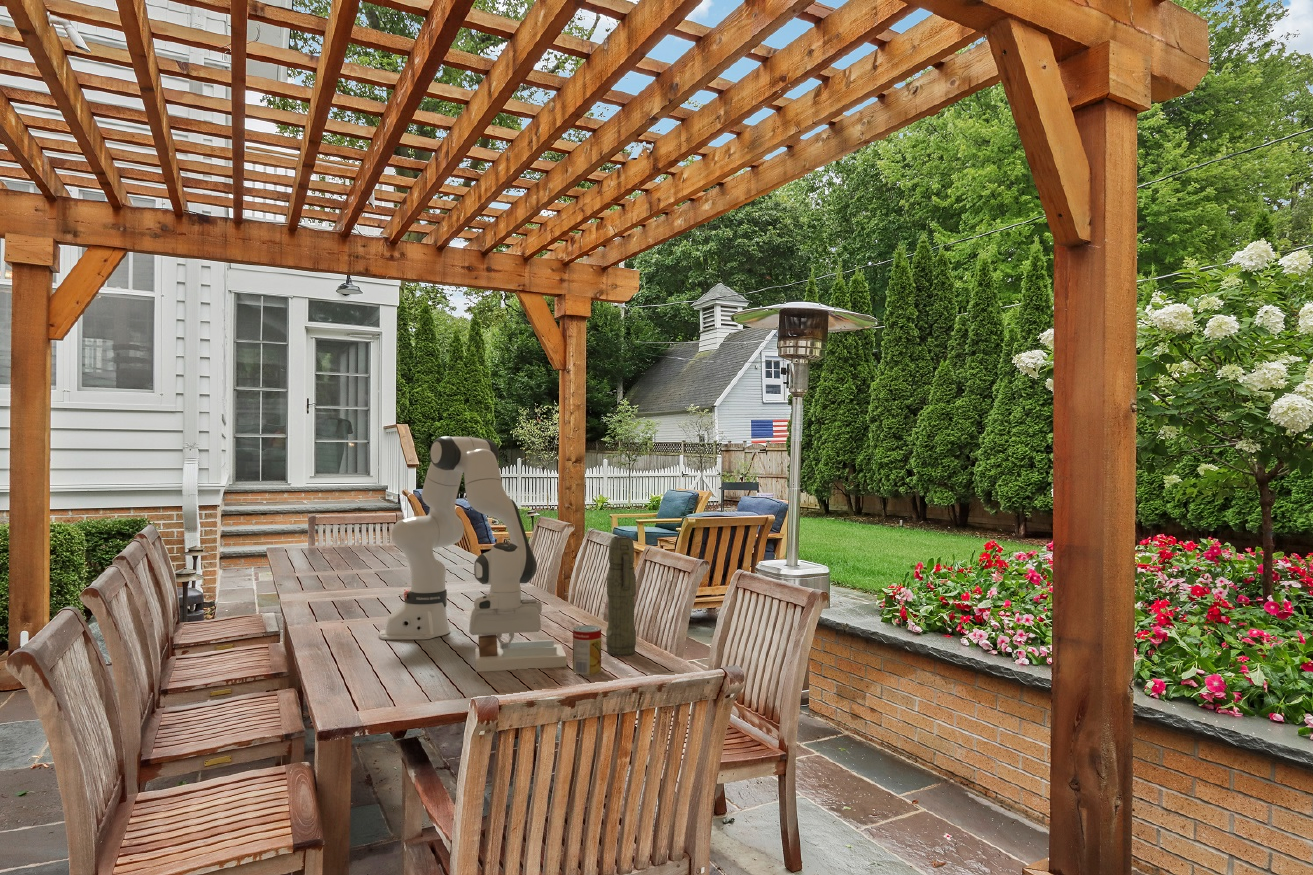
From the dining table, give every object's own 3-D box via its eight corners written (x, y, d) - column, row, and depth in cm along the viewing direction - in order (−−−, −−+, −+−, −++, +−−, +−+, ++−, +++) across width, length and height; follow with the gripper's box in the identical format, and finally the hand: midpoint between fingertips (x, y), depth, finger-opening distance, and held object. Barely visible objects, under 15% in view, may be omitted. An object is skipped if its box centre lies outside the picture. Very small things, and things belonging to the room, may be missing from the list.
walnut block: (479, 656, 229) (478, 639, 229) (479, 652, 234) (478, 635, 234) (497, 654, 230) (496, 637, 230) (496, 650, 235) (496, 633, 235)
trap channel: (475, 671, 225) (475, 653, 225) (475, 658, 238) (475, 641, 238) (566, 666, 230) (566, 648, 230) (560, 654, 244) (560, 637, 244)
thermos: (615, 659, 239) (616, 539, 239) (600, 649, 249) (600, 535, 250) (642, 655, 243) (643, 538, 243) (626, 646, 253) (626, 534, 254)
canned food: (604, 668, 228) (604, 625, 229) (596, 676, 221) (596, 632, 221) (577, 666, 230) (578, 624, 230) (568, 674, 223) (568, 630, 223)
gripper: (540, 596, 239) (540, 644, 239) (469, 599, 234) (469, 647, 234) (542, 600, 233) (542, 649, 233) (469, 603, 228) (469, 653, 228)
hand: (505, 648), depth 233 cm, fingers closed
